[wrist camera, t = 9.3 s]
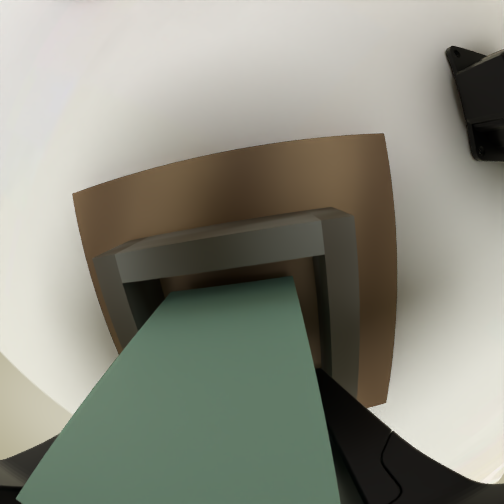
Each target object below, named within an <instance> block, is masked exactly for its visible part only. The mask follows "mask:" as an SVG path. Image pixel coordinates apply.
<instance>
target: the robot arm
mask: <svg viewBox="0 0 504 504" xmlns="http://www.w3.org/2000/svg"><path fill="white" fill-rule="evenodd" d="M446 52H447V56H448V59H449V61H450V64H451V67H452V70H453V73H454V76H455V80H456V83H457V86H458V90H459V94H460V97H461V101H462V105H463V109H464V114H465V118H466V123H467V128H468V133H469V139H470V145H471V151H472V155H473V157H474V158H475V159H476V160H478V161H503V162H504V49H502V50H500V51H498V52H496V53H493V54H491V55H489V56H485V55H483V54H480V53H476V52H473V51H470V50H467V49H463V48H460V47H456V46H451V47H449V48H448V49H447V51H446ZM455 55H456V56H457V57H456V56H455ZM479 149H480V153H479ZM315 372H316V377H317V382H318V386H319V391H320V396H321V401H322V405H323V410H324V415H325V420H326V425H327V430H328V435H329V441H330V446H331V451H332V457H333V462H334V468H335V473H336V479H337V485H338V491H339V497H340V503H341V504H504V484H485V483H480V482H476V481H473V480H471V479H468V478H466V477H464V476H462V475H460V474H459V473H457V472H455V471H453V470H451V469H449V468H447V467H446V466H444V465H442V464H440V463H438V462H437V461H435V460H433V459H431V458H430V457H428V456H427V455H425V454H423V453H422V452H420V451H419V450H417V449H416V448H414V447H413V446H412V445H410V444H409V443H408V442H406V441H405V440H404V439H402V438H401V437H400V436H399V435H398V434H397V433H395V432H394V431H392V430H391V429H390V428H389V427H388V426H387V425H386V424H384V423H383V422H382V421H381V420H380V419H379V418H377V417H376V416H375V415H374V414H373V413H372V412H370V411H369V410H368V409H367V408H366V407H365V406H364V405H362V404H361V403H360V402H359V401H358V400H357V399H356V398H354V397H353V396H352V395H351V394H350V393H349V392H348V391H346V390H345V389H344V388H343V387H342V386H341V385H340V384H339V383H338V382H336V381H335V380H334V379H333V378H332V377H331V376H330V375H329V374H328V373H326V372H325V371H324V370H323V369H322V368H316V369H315ZM391 431H392V432H391ZM58 435H59V434H58ZM58 435H56V436H55V437H53V438H51V439H49V440H47V441H45V442H44V443H41V444H39V445H37V446H35V447H33V448H31V449H29V450H26V451H24V452H21V453H19V454H17V455H14V456H12V457H10V458H7V459H4V460H0V504H22V503H20V502H19V501H18V500H17V499H16V497H17V496H18V494H19V493H20V491H21V490H22V488H23V487H24V485H25V483H26V482H27V480H28V479H29V477H30V476H31V474H32V473H33V471H34V470H35V468H36V467H37V465H38V464H39V463H40V461H41V460H42V458H43V457H44V455H45V454H46V452H47V451H48V450H49V448H50V447H51V445H52V444H53V442H54V441H55V440H56V438H57V437H58Z"/></svg>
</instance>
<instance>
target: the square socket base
mask: <svg viewBox="0 0 504 504" xmlns="http://www.w3.org/2000/svg"><path fill="white" fill-rule="evenodd" d="M72 195H73V201H74V207H75V212H76V217H77V222H78V227H79V232H80V236H81V240H82V245H83V249H84V253H85V257H86V260H87V264H88V268H89V271H90V275H91V278H92V282H93V285H94V288H95V291H96V294H97V298H98V301H99V304H100V306H101V309H102V312H103V315H104V318H105V321H106V323H107V326H108V329H109V331H110V334H111V336H112V339H113V341H114V344H115V346H116V349H117V351H118V354H119V355H120V353H121V352H122V351H123V350H124V348H125V347H126V346H127V345H128V343H129V342H130V341H131V340H132V338H133V337H134V336H135V335H136V334H137V332H138V331H139V330H140V329H141V327H142V326H143V325H144V324H145V322H146V321H147V320H148V319H149V318H150V316H151V315H152V314H153V313H154V312H155V310H156V309H157V308H158V307H159V306H160V304H161V303H162V302H163V301H164V300H165V298H166V297H167V296H168V295H169V294H170V292H174V291H182V290H190V289H199V288H207V287H214V286H222V285H230V284H237V283H245V282H252V281H259V280H266V279H273V278H280V277H287V276H293V279H294V283H295V287H296V291H297V295H298V299H299V304H300V308H301V312H302V316H303V320H304V324H305V329H306V333H307V337H308V341H309V346H310V350H311V355H312V359H313V363H314V368H315V369H316V368H322V369H323V370H324V371H325V372H326V373H328V374H329V375H330V376H331V377H332V378H333V379H334V380H335V381H336V382H338V383H339V384H340V385H341V386H342V387H343V388H344V389H345V390H346V391H348V392H349V393H350V394H351V395H352V396H353V397H354V398H356V399H357V400H358V401H359V402H360V403H361V404H362V405H364V406H365V407H366V408H369V407H373V406H376V405H380V404H384V403H386V400H387V394H388V388H389V381H390V374H391V366H392V358H393V348H394V337H395V324H396V304H397V245H396V225H395V212H394V200H393V191H392V182H391V174H390V167H389V160H388V154H387V148H386V142H385V136H384V133H380V134H359V135H344V136H332V137H321V138H311V139H303V140H294V141H287V142H279V143H272V144H266V145H259V146H253V147H247V148H242V149H236V150H231V151H225V152H220V153H215V154H211V155H206V156H201V157H197V158H192V159H188V160H184V161H179V162H175V163H171V164H167V165H163V166H160V167H156V168H152V169H148V170H145V171H141V172H138V173H134V174H131V175H127V176H124V177H121V178H118V179H114V180H111V181H108V182H105V183H102V184H99V185H96V186H93V187H90V188H87V189H84V190H82V191H79V192H76V193H73V194H72Z"/></svg>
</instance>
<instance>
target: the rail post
mask: <svg viewBox="0 0 504 504" xmlns="http://www.w3.org/2000/svg"><path fill="white" fill-rule="evenodd" d="M16 499H17V500H18V501H19V502H20V503H22V504H341V503H340V497H339V491H338V485H337V479H336V473H335V468H334V462H333V457H332V451H331V446H330V441H329V435H328V430H327V425H326V420H325V415H324V410H323V405H322V401H321V396H320V391H319V386H318V382H317V377H316V372H315V368H314V363H313V359H312V355H311V350H310V346H309V341H308V337H307V333H306V329H305V324H304V320H303V316H302V312H301V308H300V304H299V299H298V295H297V291H296V287H295V283H294V279H293V276H287V277H280V278H273V279H266V280H259V281H252V282H245V283H237V284H230V285H222V286H214V287H207V288H199V289H190V290H182V291H174V292H170V294H169V295H168V296H167V297H166V298H165V300H164V301H163V302H162V303H161V304H160V306H159V307H158V308H157V309H156V310H155V312H154V313H153V314H152V315H151V316H150V318H149V319H148V320H147V321H146V322H145V324H144V325H143V326H142V327H141V329H140V330H139V331H138V332H137V334H136V335H135V336H134V337H133V338H132V340H131V341H130V342H129V343H128V345H127V346H126V347H125V348H124V350H123V351H122V352H121V353H120V355H119V356H118V357H117V359H116V360H115V361H114V362H113V364H112V365H111V366H110V367H109V369H108V370H107V371H106V373H105V374H104V375H103V376H102V378H101V379H100V380H99V382H98V383H97V384H96V385H95V387H94V388H93V389H92V391H91V392H90V393H89V395H88V396H87V397H86V399H85V400H84V401H83V403H82V404H81V405H80V407H79V408H78V409H77V411H76V412H75V413H74V415H73V416H72V418H71V419H70V420H69V422H68V423H67V424H66V426H65V427H64V428H63V430H62V431H61V433H60V434H59V435H58V437H57V438H56V440H55V441H54V442H53V444H52V445H51V447H50V448H49V450H48V451H47V452H46V454H45V455H44V457H43V458H42V460H41V461H40V463H39V464H38V465H37V467H36V468H35V470H34V471H33V473H32V474H31V476H30V477H29V479H28V480H27V482H26V483H25V485H24V487H23V488H22V490H21V491H20V493H19V494H18V496H17V497H16Z"/></svg>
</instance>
